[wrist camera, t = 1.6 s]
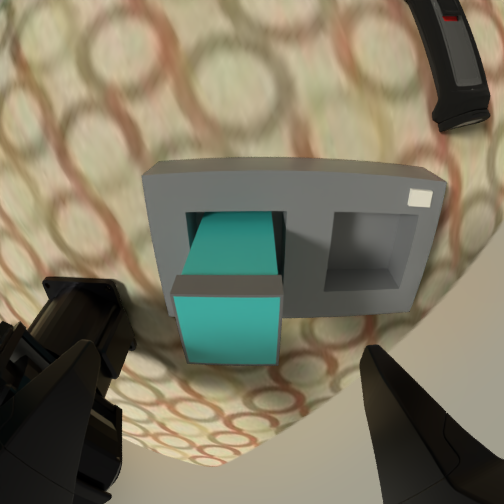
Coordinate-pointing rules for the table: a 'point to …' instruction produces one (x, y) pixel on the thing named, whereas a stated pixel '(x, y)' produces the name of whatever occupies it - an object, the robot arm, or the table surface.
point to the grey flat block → (308, 225)
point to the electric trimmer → (452, 63)
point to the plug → (230, 292)
